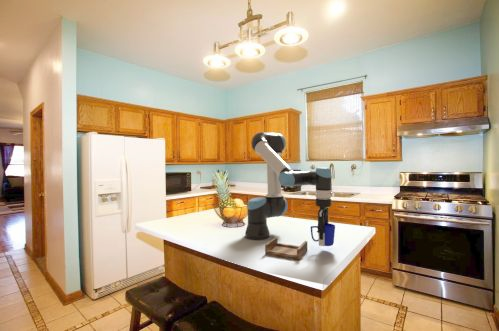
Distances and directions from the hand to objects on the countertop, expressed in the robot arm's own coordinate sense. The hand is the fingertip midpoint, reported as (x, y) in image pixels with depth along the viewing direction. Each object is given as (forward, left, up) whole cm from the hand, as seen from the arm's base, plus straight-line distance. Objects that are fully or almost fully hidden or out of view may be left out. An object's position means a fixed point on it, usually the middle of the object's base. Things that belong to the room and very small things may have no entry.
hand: (323, 243), depth 127 cm
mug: (0, -1, -1) cm, 1 cm away
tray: (-16, -10, -4) cm, 19 cm away
